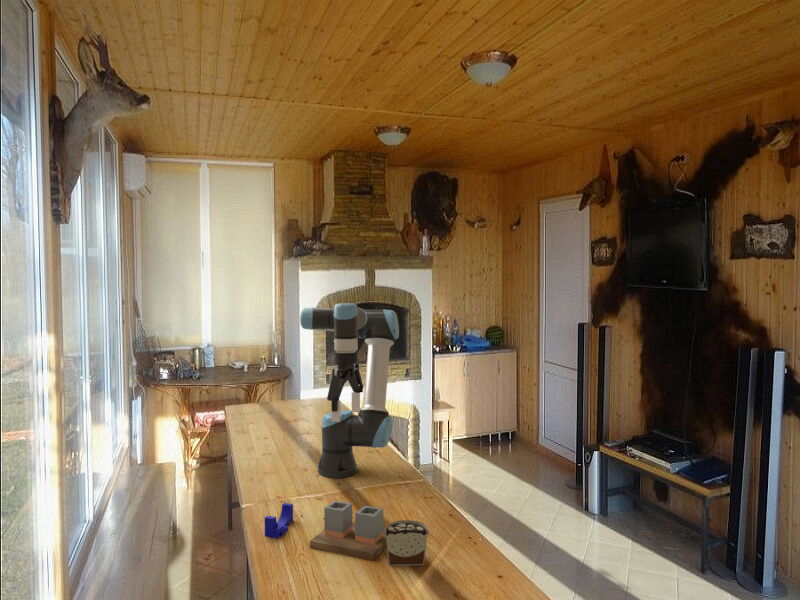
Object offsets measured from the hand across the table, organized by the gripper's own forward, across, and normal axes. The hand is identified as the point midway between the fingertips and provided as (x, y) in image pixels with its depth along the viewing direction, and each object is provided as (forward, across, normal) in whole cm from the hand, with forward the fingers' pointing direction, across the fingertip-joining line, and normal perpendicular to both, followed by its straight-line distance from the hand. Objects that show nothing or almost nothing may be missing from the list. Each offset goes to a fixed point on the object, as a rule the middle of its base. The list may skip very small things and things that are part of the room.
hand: (346, 416), depth 194 cm
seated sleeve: (+30, +18, +17) cm, 39 cm away
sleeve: (+30, +18, +7) cm, 35 cm away
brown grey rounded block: (+32, +22, +30) cm, 49 cm away
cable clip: (+32, +19, -12) cm, 39 cm away
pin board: (+32, +18, +12) cm, 38 cm away
